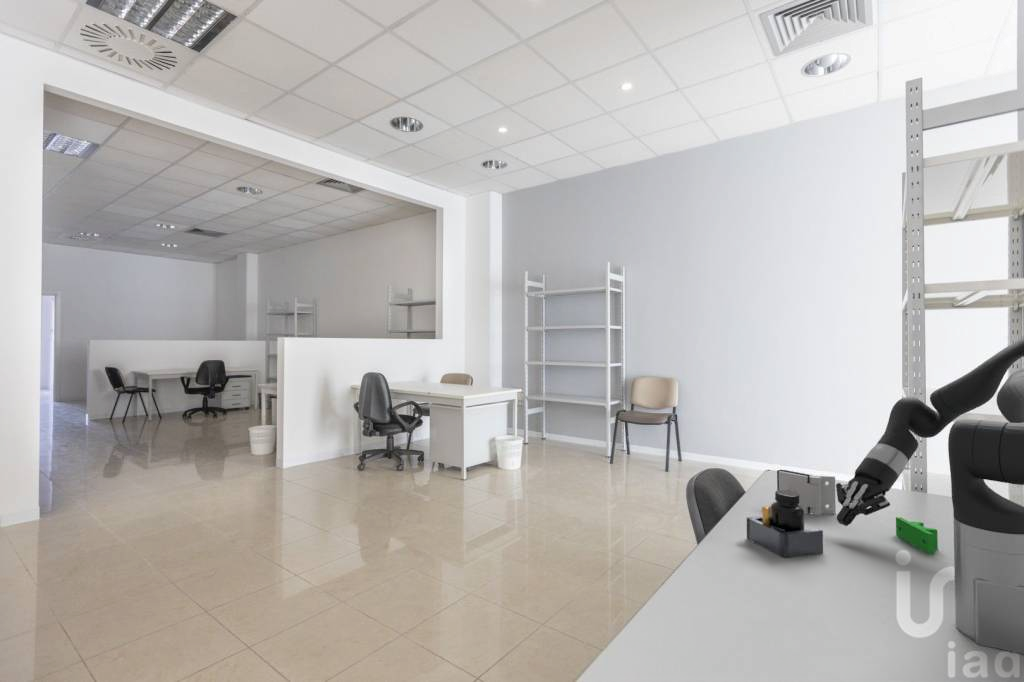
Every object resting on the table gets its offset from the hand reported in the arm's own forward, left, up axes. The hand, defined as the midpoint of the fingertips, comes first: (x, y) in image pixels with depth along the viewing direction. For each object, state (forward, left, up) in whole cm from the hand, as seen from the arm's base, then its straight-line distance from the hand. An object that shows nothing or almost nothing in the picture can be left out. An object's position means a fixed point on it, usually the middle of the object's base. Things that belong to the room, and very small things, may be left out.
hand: (841, 522), depth 118 cm
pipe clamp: (+5, -15, -4) cm, 17 cm away
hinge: (+20, +7, -4) cm, 22 cm away
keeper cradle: (-12, +11, -4) cm, 17 cm away
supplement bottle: (-11, +11, -4) cm, 16 cm away
